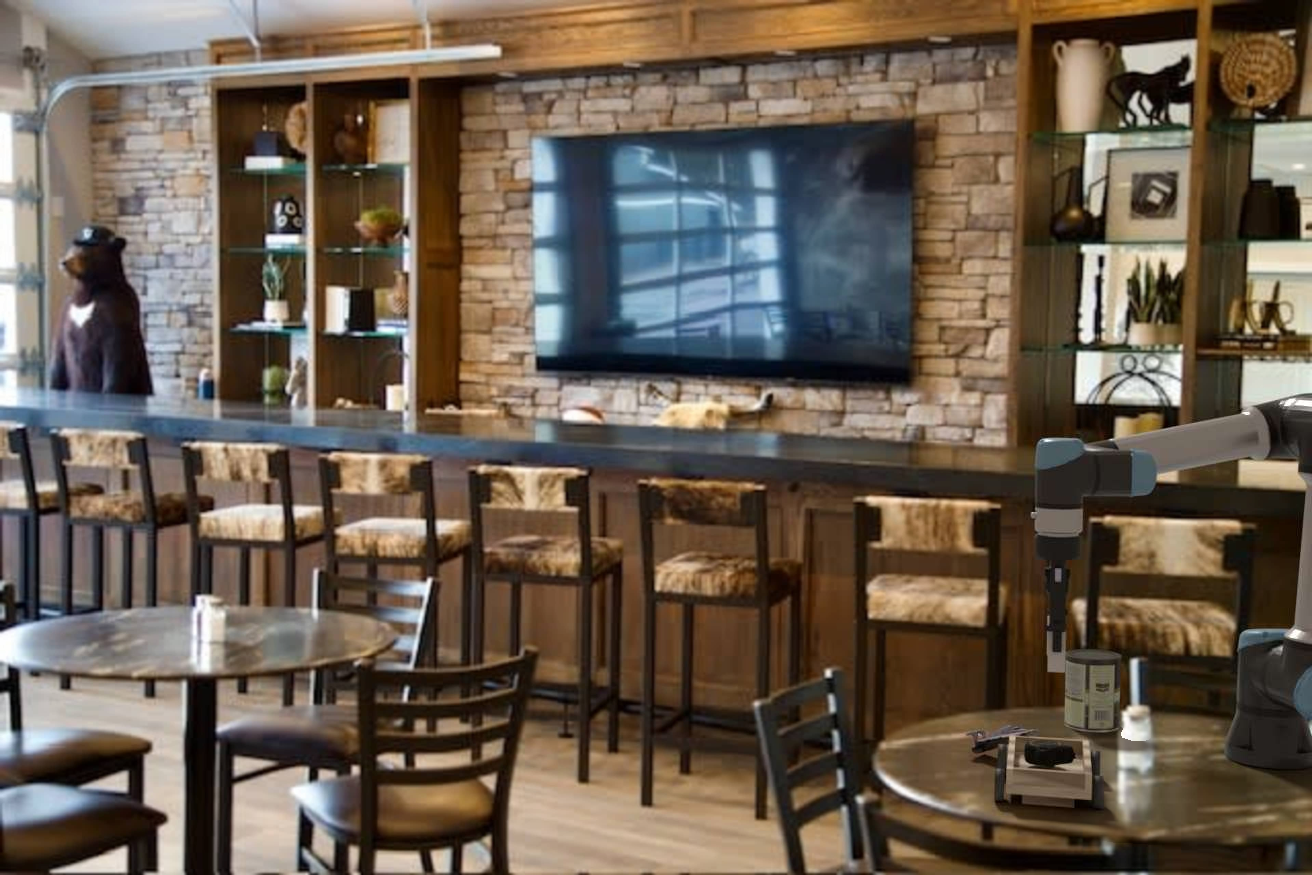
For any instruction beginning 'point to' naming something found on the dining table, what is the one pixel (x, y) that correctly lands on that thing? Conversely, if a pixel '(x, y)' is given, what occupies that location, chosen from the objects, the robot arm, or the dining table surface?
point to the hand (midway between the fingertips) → (1055, 663)
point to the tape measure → (1048, 753)
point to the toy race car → (997, 738)
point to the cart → (1049, 775)
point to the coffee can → (1092, 690)
